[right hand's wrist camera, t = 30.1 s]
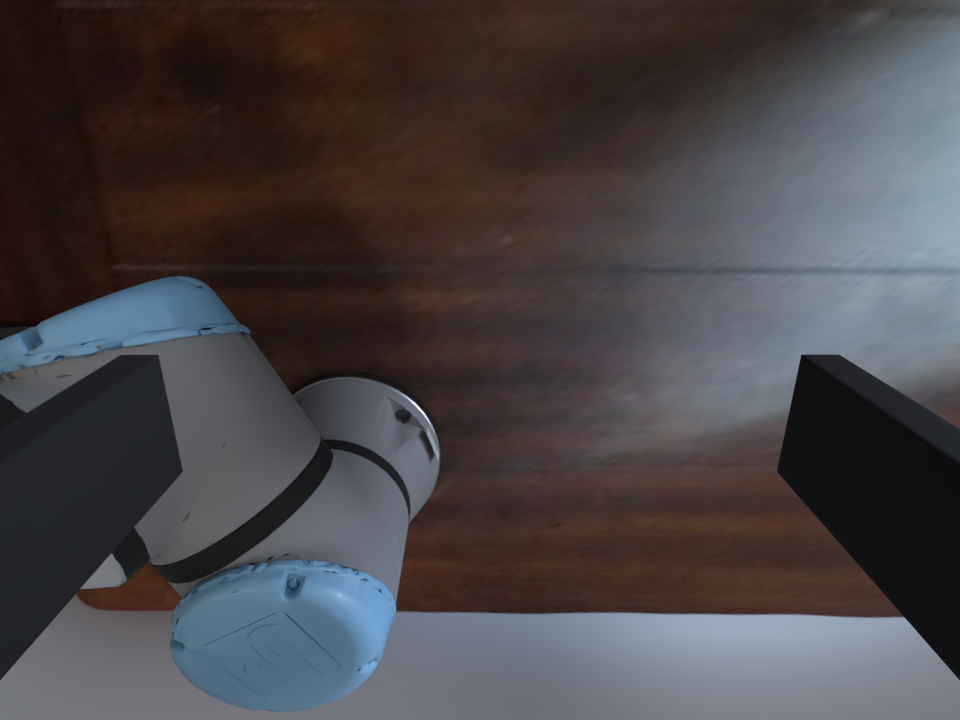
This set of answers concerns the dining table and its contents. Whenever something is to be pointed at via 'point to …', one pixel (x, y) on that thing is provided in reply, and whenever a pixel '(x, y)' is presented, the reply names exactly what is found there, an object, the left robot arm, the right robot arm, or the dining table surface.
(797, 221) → the dining table surface
